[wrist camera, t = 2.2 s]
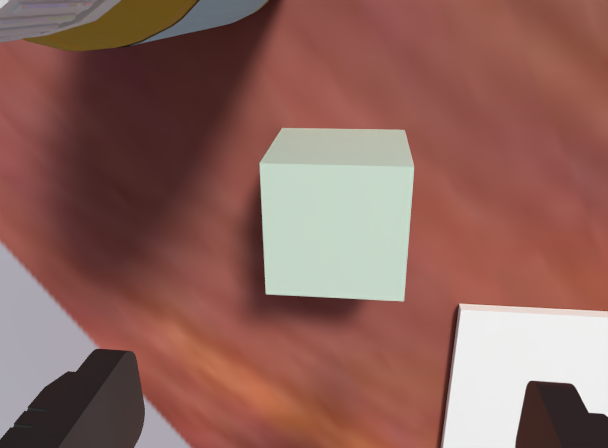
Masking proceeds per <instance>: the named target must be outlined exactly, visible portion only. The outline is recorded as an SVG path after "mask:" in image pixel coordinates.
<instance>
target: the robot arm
mask: <svg viewBox="0 0 608 448" xmlns="http://www.w3.org/2000/svg"><path fill="white" fill-rule="evenodd" d="M144 416H145V408H144V401H143V395H142V389H141V383H140V377H139V371H138V365H137V360H136V356H135V354H134V353H133V352H132V351H123V350H109V349H96V350H94V351H93V352H92V353H91V354H90V355H89V356H88V357H87V359H86V360H85V361H84V363H83V364H82V365H81V366H80V368H79V369H78V370H77V371H76V372H67V373H65V374H64V375H62V376H61V377H59V378H58V379H56V380H55V381H54V382H52V383H50V384H49V385H48V386H46V387H45V388H44V389H43V390H42V391H41V392H40V393H39V395H38V396H37V397H36V398H35V399H34V400H33V402H32V403H31V404H30V405H29V406H28V410H27V411H24V412H23V413H22V415H21V416H20V417H19V418H18V419H17V421H16V422H15V423H14V427H13V428H10V429H9V430H8V431H7V432H6V433H5V435H4V436H3V437H2V438H1V440H0V448H134V446H135V444H136V443H137V441H138V439H139V437H140V434H141V431H142V428H143V423H144ZM515 448H608V417H607V416H606V415H605V414H600V413H589V412H588V410H587V408H586V407H585V405H584V403H583V401H582V399H581V397H580V395H579V393H578V391H577V389H576V388H575V386H574V385H573V384H571V383H559V382H545V381H529V382H528V384H527V387H526V390H525V395H524V400H523V406H522V411H521V416H520V421H519V426H518V431H517V436H516V443H515Z"/></svg>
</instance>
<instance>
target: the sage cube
mask: <svg viewBox="0 0 608 448" xmlns="http://www.w3.org/2000/svg"><path fill="white" fill-rule="evenodd" d="M413 176H414V164H413V160H412V156H411V153H410V149H409V145H408V141H407V137H406V133H405V130H378V129H313V128H282V129H281V131H280V132H279V134H278V135H277V137H276V138H275V140H274V142H273V143H272V145H271V146H270V148H269V149H268V151H267V153H266V154H265V156H264V157H263V159H262V160H261V162H260V183H261V204H262V225H263V246H264V267H265V288H266V294H270V295H290V296H309V297H329V298H349V299H369V300H389V301H404V294H405V281H406V268H407V255H408V242H409V229H410V215H411V202H412V189H413Z"/></svg>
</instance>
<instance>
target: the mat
mask: <svg viewBox="0 0 608 448" xmlns="http://www.w3.org/2000/svg"><path fill="white" fill-rule="evenodd" d="M529 381H545V382H559V383H571V384H573V385H574V386H575V388H576V389H577V391H578V393H579V395H580V397H581V399H582V401H583V403H584V405H585V407H586V408H587V410H588V412H589V413H600V414H605V415H606V416H607V417H608V311H590V310H571V309H551V308H532V307H512V306H493V305H473V304H459V310H458V318H457V325H456V333H455V341H454V349H453V356H452V364H451V372H450V380H449V387H448V395H447V403H446V411H445V418H444V426H443V434H442V442H441V448H515V443H516V436H517V431H518V426H519V421H520V416H521V411H522V406H523V400H524V395H525V390H526V387H527V384H528V382H529Z"/></svg>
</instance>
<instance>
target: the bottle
mask: <svg viewBox="0 0 608 448" xmlns="http://www.w3.org/2000/svg"><path fill="white" fill-rule="evenodd" d="M268 1H269V0H0V42H7V41H14V40H20V39H24V40H26V41H29V42H33V43H37V44H41V45H45V46H49V47H53V48H58V49H62V50H67V51H87V50H97V49H107V48H117V47H127V46H132V45H136V44H141V43H145V42H150V41H154V40H159V39H164V38H168V37H173V36H177V35H182V34H186V33H191V32H196V31H200V30H205V29H209V28H214V27H218V26H223V25H227V24H231V23H234V22H236V21H238V20H240V19H242V18H244V17H246V16H249V15H251V14H253V13H255V12H256V11H258V10H259V9H261V8H262V7H263V6H264V5H265V4H266V3H267V2H268Z"/></svg>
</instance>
